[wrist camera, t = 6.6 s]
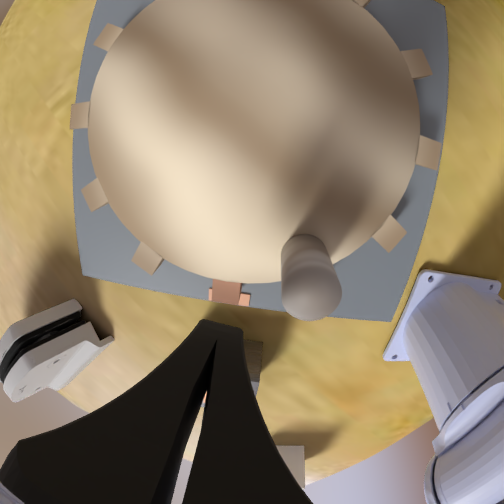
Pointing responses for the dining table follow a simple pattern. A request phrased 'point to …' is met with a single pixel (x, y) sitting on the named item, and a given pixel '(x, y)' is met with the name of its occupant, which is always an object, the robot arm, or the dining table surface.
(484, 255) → the dining table surface
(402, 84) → the sprocket
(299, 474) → the white cube
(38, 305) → the dining table surface
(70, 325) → the grey slotted holder
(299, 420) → the dining table surface
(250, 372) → the link block
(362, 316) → the base plate
